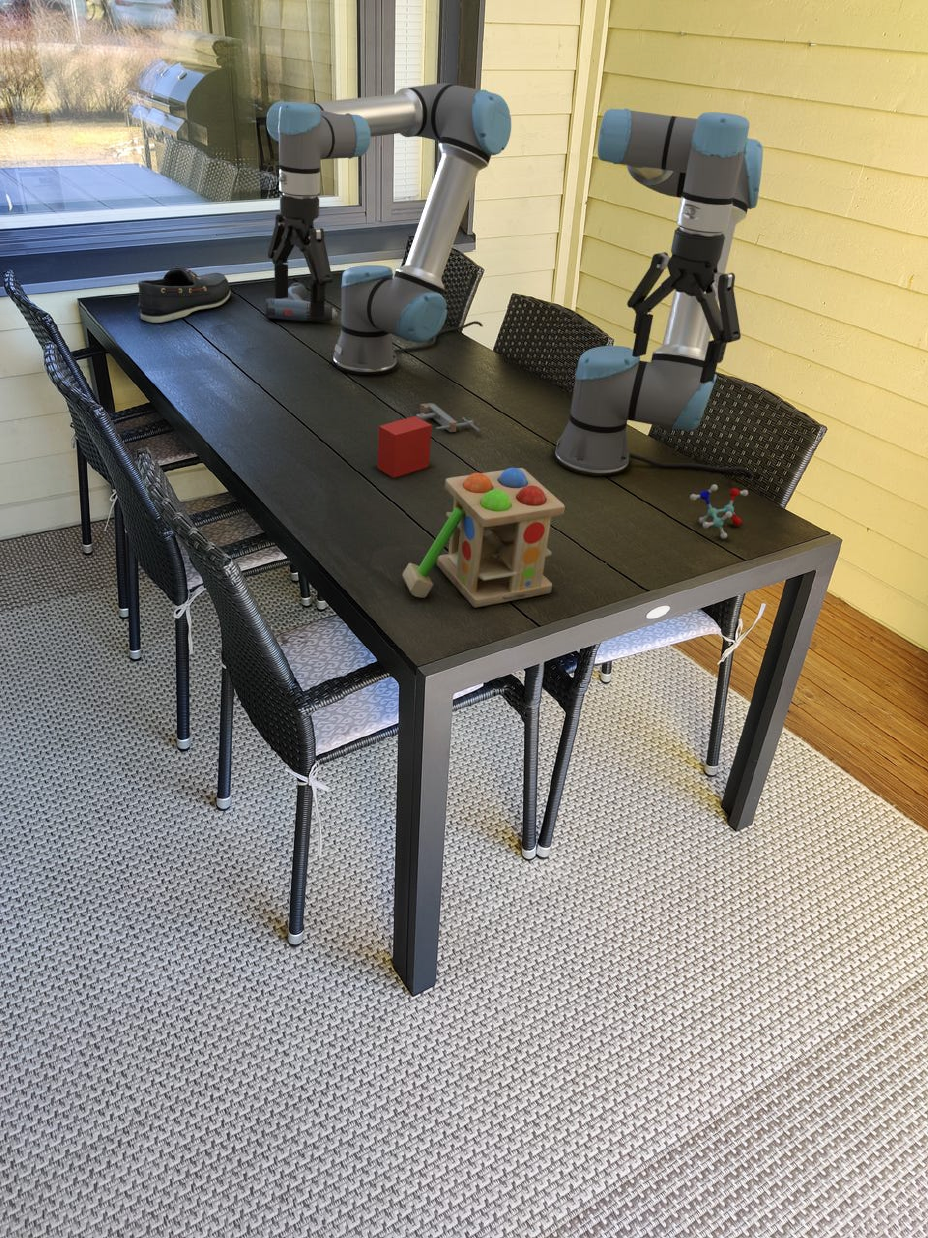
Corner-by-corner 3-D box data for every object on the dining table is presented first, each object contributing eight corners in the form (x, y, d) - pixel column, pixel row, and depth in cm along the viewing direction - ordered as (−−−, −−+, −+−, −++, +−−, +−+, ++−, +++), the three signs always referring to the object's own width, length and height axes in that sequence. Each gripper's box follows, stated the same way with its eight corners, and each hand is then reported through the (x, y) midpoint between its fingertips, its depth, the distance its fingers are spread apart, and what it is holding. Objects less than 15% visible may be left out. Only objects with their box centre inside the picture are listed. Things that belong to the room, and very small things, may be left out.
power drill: (344, 304, 276) (335, 327, 259) (277, 298, 275) (264, 321, 258) (344, 285, 273) (335, 306, 256) (277, 279, 272) (264, 300, 255)
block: (377, 468, 192) (378, 425, 187) (412, 457, 197) (415, 415, 192) (393, 478, 189) (395, 435, 184) (429, 466, 194) (431, 424, 189)
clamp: (408, 405, 213) (448, 399, 218) (407, 414, 215) (447, 409, 219) (441, 432, 203) (482, 426, 207) (440, 442, 204) (481, 435, 209)
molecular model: (753, 532, 175) (738, 478, 173) (701, 547, 178) (685, 494, 177) (757, 522, 185) (742, 472, 184) (707, 537, 189) (692, 487, 187)
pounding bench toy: (424, 619, 150) (431, 515, 140) (388, 572, 160) (393, 472, 150) (553, 592, 159) (568, 494, 149) (511, 550, 169) (523, 455, 159)
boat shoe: (248, 301, 272) (246, 262, 267) (158, 325, 248) (153, 283, 243) (214, 293, 278) (211, 255, 272) (123, 315, 254) (117, 274, 248)
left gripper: (249, 181, 192) (251, 291, 203) (318, 209, 176) (316, 327, 188) (282, 180, 196) (283, 288, 208) (352, 207, 181) (349, 322, 192)
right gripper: (620, 213, 151) (598, 348, 163) (757, 253, 137) (722, 397, 148) (650, 209, 155) (626, 340, 167) (786, 247, 141) (750, 388, 153)
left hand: (299, 307), depth 198 cm, fingers open, 13 cm apart
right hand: (671, 368), depth 158 cm, fingers open, 13 cm apart
